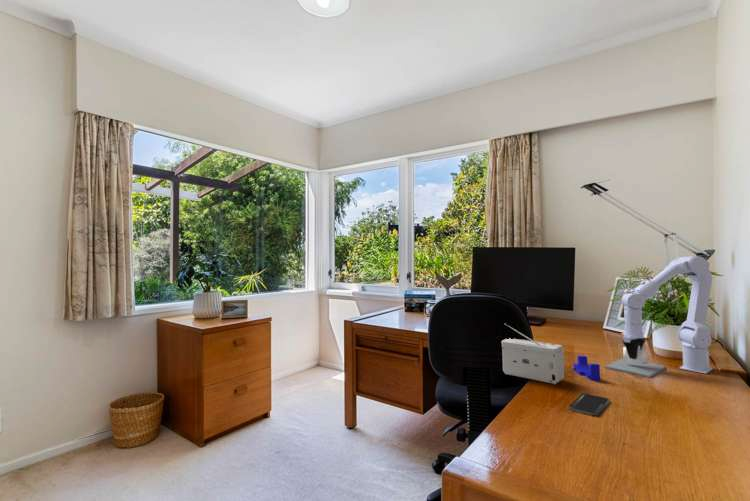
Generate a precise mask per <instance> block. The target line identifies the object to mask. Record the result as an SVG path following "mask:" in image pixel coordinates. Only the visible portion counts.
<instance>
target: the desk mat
mask: <svg viewBox="0 0 750 501" xmlns="http://www.w3.org/2000/svg"><path fill="white" fill-rule="evenodd" d="M666 368H667V366H665V365H660V364H657V363H650V362H647V364H640V363H635V362H630V361H625V360H623V358H619V359H617V360H615V361H613V362H610V363H609V364H607V365H605V366H604V369H607V370H612V371H617V372H621V373H625V374H631V375H635V376H639V377H640V376H641V377H645V378H649V379H650V378H652V377H654V376H655V375H657V374H659V373H661V372H662V371H664V370H665V369H666Z"/></svg>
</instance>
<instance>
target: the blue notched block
mask: <svg viewBox="0 0 750 501" xmlns="http://www.w3.org/2000/svg"><path fill="white" fill-rule="evenodd" d="M576 356H577V358H576V359H577V361H576V362H573V371H574V372H576V373H577V375H579V376H584V377H586V379H588V380H589V381H592V382H600V381H601V368H600V364H599V363H592V362H591V363H589V362H588V361H589V360H588V357H587V355H576Z"/></svg>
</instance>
